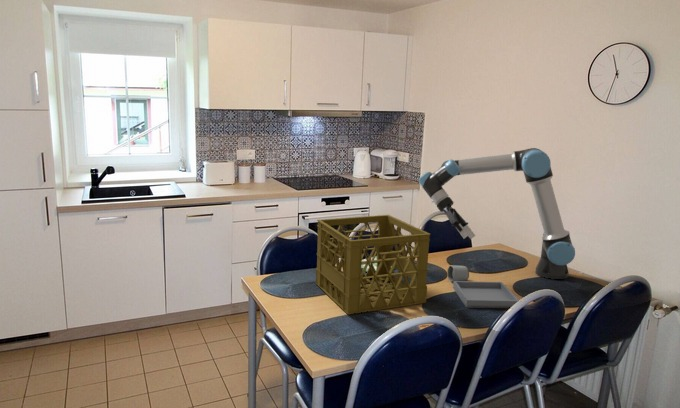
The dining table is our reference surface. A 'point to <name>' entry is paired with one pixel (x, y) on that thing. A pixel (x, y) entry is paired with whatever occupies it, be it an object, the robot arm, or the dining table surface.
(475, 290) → the tray
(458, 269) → the ceramic mug
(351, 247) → the milk crate
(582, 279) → the dining table surface
